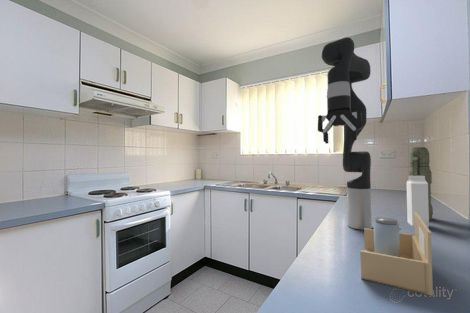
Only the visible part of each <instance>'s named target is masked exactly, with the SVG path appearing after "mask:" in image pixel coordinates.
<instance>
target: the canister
mask: <svg viewBox="0 0 470 313" xmlns="http://www.w3.org/2000/svg"><path fill="white" fill-rule="evenodd" d="M373 229H374V253H379V254H385V255H390V256H396V257H400V233H401V232H400V223H399V222H398V220H397V219H395V218H392V217H386V216H385V217H384V216H380V217H379V216H377V217H375V218H374V220H373Z"/></svg>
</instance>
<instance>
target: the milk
mask: <svg viewBox="0 0 470 313" xmlns="http://www.w3.org/2000/svg"><path fill="white" fill-rule="evenodd" d="M406 212H407V213H406V214H407V215H406V216H407V217H406V218H407V219H406V220H407V221H406V222H407V224H409V225H410V226H411V227H414V212H417V214H418V215H419V216H420V218H421V219H422V220H423V222H424V223H425V225H426V226H427V227H428V229H429V228H430V220H429V205H428V183H427V182H426V180H425V176H409V175H408V179H407V181H406Z"/></svg>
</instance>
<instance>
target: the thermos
mask: <svg viewBox="0 0 470 313" xmlns="http://www.w3.org/2000/svg"><path fill="white" fill-rule="evenodd" d="M407 173H408V177H409V176H425V180H426V182H427V183H428V205H429V221H433V214H434V213H433V212H434V210H433V209H434V208H433V205H432V192H431V190H432V187H431V185H432V182H433V181H432V180H433V179H432V178H433V176H432V174H433V173H432V170H431V167H430V152H429V149H428V147H423V146H422V147H421V146H420V147H412V148H411V149H410V151H409V170H408V172H407Z"/></svg>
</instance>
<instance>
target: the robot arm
mask: <svg viewBox="0 0 470 313" xmlns="http://www.w3.org/2000/svg"><path fill="white" fill-rule="evenodd" d="M354 51H355V42H354V40H353V39H352V38H351V37H347V36H346V37H344V38H340V39H337V40H334V41H332V42H328V43H327V44H325V45H324V46H323V47H322V49H321V52H320V56H321V59H322V61H323V62H324V64H326V65H327V66H331V68H330V69H328V71H327V90H326V101H327V102H326V105H327V106H326V107H327V108H326V109H327V113H326V115H321V114H320V115H318V116H317V132H320V133H322V134H323V135H322V136H323V138H322V139H323V142H324V143H325V144H329V133H328V132H329V131H330V129H332V128H333V127H339V126H342V127H343V147H342V148H343V149H342V151H343V152H342V169H343V171H344V172H346V173H361V175H360V176H358V177H356V178H353V179H349V180H347V182H346V196H347V197H346V199H347V226H348V227H349V228H352V229H355V230H363V231H364V228H367V229H373V226H372V222H373V220H372V192H371V190H372V189H371V187H372V186H371V185H372V184H371V183H372V182H371V168H372V166H371V165H372V159H371V158H372V157H371V154H370V152H369V151H352V149H353V146H354V144H355V141H357V139H358V138H357V137H358V136H360V133H362V131H363V129H364V128H365V126H366V124H367V107H366V105H365V104H364V102H363V101H362V100H361V98H359V97H358V95H357V94H356V92H355V91H354V89H353V84H355V83H359V82H364V81H366V80H368V79H369V78H370V76H371V65H370V62H369V60H368V59H366V58H363V57H362V56H361V57H360V56H358V54H356V53H355V52H354ZM325 120H327V121H328V122H327V124H326V125H325V127H323V123H324V122H325Z"/></svg>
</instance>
